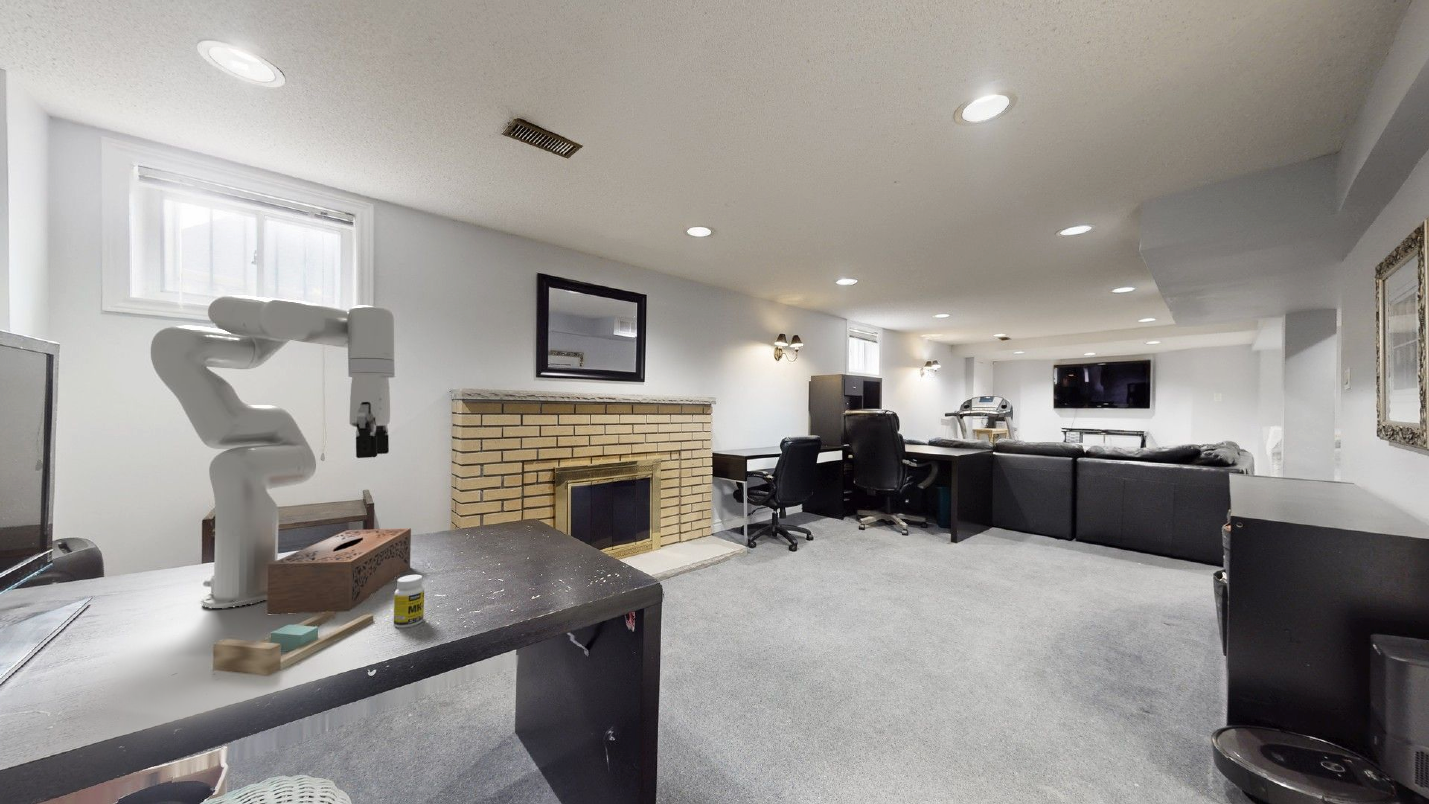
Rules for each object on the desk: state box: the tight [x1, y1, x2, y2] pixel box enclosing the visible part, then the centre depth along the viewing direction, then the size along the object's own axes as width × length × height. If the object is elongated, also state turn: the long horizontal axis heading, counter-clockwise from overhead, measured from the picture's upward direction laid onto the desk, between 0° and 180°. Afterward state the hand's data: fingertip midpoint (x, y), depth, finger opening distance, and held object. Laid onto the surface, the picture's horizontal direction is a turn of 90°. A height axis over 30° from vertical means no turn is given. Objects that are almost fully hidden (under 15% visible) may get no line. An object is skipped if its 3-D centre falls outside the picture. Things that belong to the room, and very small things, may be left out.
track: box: [212, 611, 374, 677], centre depth 82 cm, size 10×19×4 cm, turn 172°
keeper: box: [269, 624, 319, 652], centre depth 81 cm, size 6×3×3 cm, turn 82°
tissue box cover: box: [266, 528, 412, 615], centre depth 106 cm, size 26×14×10 cm, turn 9°
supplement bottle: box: [393, 574, 425, 629], centre depth 90 cm, size 5×5×8 cm
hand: (373, 455), depth 95 cm, fingers open, 9 cm apart
